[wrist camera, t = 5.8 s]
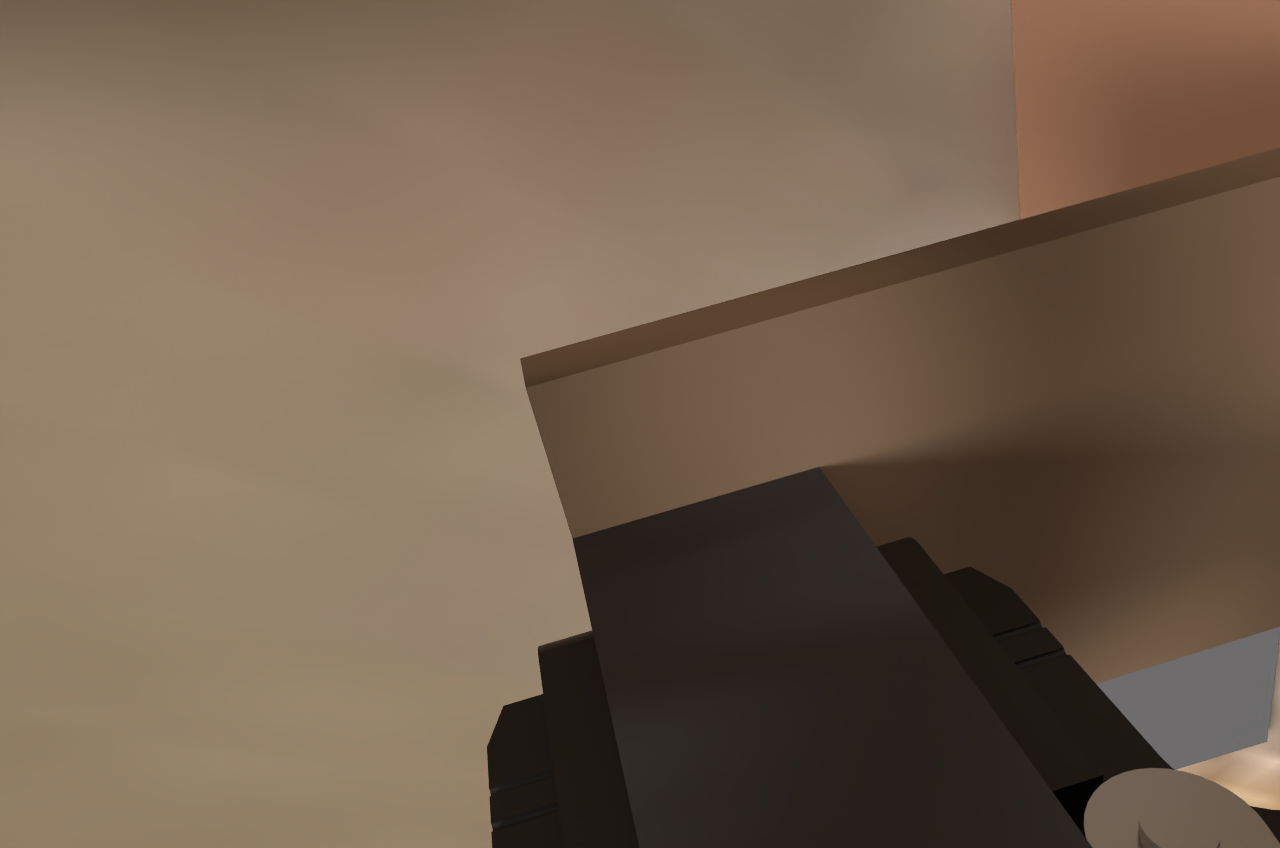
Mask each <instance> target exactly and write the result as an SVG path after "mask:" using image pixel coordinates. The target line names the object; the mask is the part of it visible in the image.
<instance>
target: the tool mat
mask: <svg viewBox="0 0 1280 848" xmlns="http://www.w3.org/2000/svg"><path fill="white" fill-rule="evenodd" d="M1279 636H1280V627H1277V628H1274V629H1271V630H1268V631H1265V632H1261V633H1258V634H1255V635H1252V636H1249V637H1245V638H1242V639H1239V640H1236V641H1232V642H1229V643H1226V644H1223V645H1220V646H1216V647H1213V648H1210V649H1207V650H1204V651H1200V652H1197V653H1194V654H1191V655H1188V656H1184V657H1181V658H1178V659H1175V660H1172V661H1168V662H1165V663H1162V664H1159V665H1156V666H1152V667H1149V668H1146V669H1143V670H1140V671H1136V672H1133V673H1130V674H1127V675H1124V676H1120V677H1117V678H1114V679H1111V680H1107V681H1104V682H1101V683H1098V684H1097V685H1098V686H1099V688H1100V689H1101V690H1102V691H1103V692H1104V693H1105V694H1106V695H1107V697H1108V698H1109V699H1110V700H1111V701H1112V702H1113V703H1114V704H1115V706H1116V707H1117V708H1118V709H1119V710H1120V711H1121V712H1122V714H1123V715H1124V716H1125V717H1126V718H1127V719H1128V720H1129V721H1130V723H1131V724H1132V725H1133V726H1134V727H1135V728H1136V729H1137V730H1138V732H1139V733H1140V734H1141V735H1142V736H1143V737H1144V738H1145V739H1146V741H1147V742H1148V743H1149V744H1150V745H1151V746H1152V747H1153V749H1154V750H1155V751H1156V752H1157V753H1158V754H1159V755H1160V756H1161V757H1162V758H1163V759H1164V760H1165V761H1166V762H1167V763H1168V764H1169V765H1170V766H1171V767H1172V768H1173V769H1174V770H1176V769H1179V768H1182V767H1186V766H1189V765H1192V764H1195V763H1199V762H1202V761H1205V760H1208V759H1212V758H1215V757H1218V756H1221V755H1225V754H1228V753H1231V752H1234V751H1238V750H1241V749H1244V748H1247V747H1251V746H1254V745H1257V744H1260V743H1264V742H1267V738H1268V729H1269V721H1270V712H1271V704H1272V695H1273V687H1274V678H1275V670H1276V661H1277V653H1278V645H1279Z"/></svg>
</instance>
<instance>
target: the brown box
mask: <svg viewBox="0 0 1280 848" xmlns="http://www.w3.org/2000/svg"><path fill="white" fill-rule="evenodd" d="M521 365H522V370H523V376H524V381H525V386H526V390H527V393H528V397H529V400H530V403H531V406H532V410H533V413H534V416H535V419H536V422H537V426H538V429H539V432H540V435H541V439H542V442H543V445H544V448H545V451H546V455H547V458H548V461H549V464H550V468H551V471H552V474H553V477H554V480H555V484H556V487H557V490H558V493H559V497H560V500H561V503H562V506H563V509H564V513H565V516H566V519H567V522H568V526H569V529H570V532H571V535H572V538H573V543H574V548H575V552H576V557H577V561H578V566H579V571H580V575H581V580H582V584H583V589H584V594H585V598H586V603H587V607H588V612H589V617H590V621H591V626H592V631H593V635H594V640H595V644H596V649H597V654H598V658H599V663H600V667H601V672H602V677H603V681H604V686H605V690H606V695H607V700H608V704H609V709H610V713H611V718H612V723H613V727H614V732H615V736H616V741H617V746H618V750H619V755H620V760H621V764H622V769H623V773H624V778H625V783H626V787H627V792H628V796H629V801H630V806H631V810H632V815H633V819H634V824H635V829H636V833H637V838H638V842H639V847H640V848H1092V846H1091V845H1090V843H1089V842H1088V841H1087V839H1086V838H1085V836H1084V835H1083V834H1082V832H1081V831H1080V829H1079V828H1078V827H1077V825H1076V824H1075V823H1074V821H1073V820H1072V818H1071V817H1070V816H1069V814H1068V813H1067V811H1066V810H1065V809H1064V807H1063V806H1062V804H1061V803H1060V802H1059V800H1058V799H1057V797H1056V796H1055V795H1054V793H1053V792H1052V791H1051V789H1050V788H1049V786H1048V785H1047V784H1046V782H1045V781H1044V779H1043V778H1042V777H1041V775H1040V774H1039V772H1038V771H1037V770H1036V768H1035V767H1034V765H1033V764H1032V763H1031V761H1030V760H1029V759H1028V757H1027V756H1026V754H1025V753H1024V752H1023V750H1022V749H1021V747H1020V746H1019V745H1018V743H1017V742H1016V740H1015V739H1014V738H1013V736H1012V735H1011V734H1010V732H1009V731H1008V729H1007V728H1006V727H1005V725H1004V724H1003V722H1002V721H1001V720H1000V718H999V717H998V715H997V714H996V713H995V711H994V710H993V708H992V707H991V706H990V704H989V703H988V702H987V700H986V699H985V697H984V696H983V695H982V693H981V692H980V690H979V689H978V688H977V686H976V685H975V683H974V682H973V681H972V679H971V678H970V676H969V675H968V674H967V672H966V671H965V670H964V668H963V667H962V665H961V664H960V663H959V661H958V660H957V658H956V657H955V656H954V654H953V653H952V651H951V650H950V649H949V647H948V646H947V645H946V643H945V642H944V640H943V639H942V638H941V636H940V635H939V633H938V632H937V631H936V629H935V628H934V626H933V625H932V624H931V622H930V621H929V619H928V618H927V617H926V615H925V614H924V613H923V611H922V610H921V608H920V607H919V606H918V604H917V603H916V601H915V600H914V599H913V597H912V596H911V594H910V593H909V592H908V590H907V589H906V587H905V586H904V585H903V583H902V582H901V581H900V579H899V578H898V576H897V575H896V574H895V572H894V571H893V569H892V568H891V567H890V565H889V564H888V562H887V561H886V560H885V558H884V557H883V556H882V554H881V553H880V551H879V550H878V549H877V546H880V545H884V544H887V543H890V542H894V541H897V540H900V539H904V538H907V537H911V538H914V539H915V540H916V541H917V542H918V543H919V544H920V545H921V547H922V548H923V549H924V550H925V552H926V553H927V554H928V555H929V557H930V558H931V559H932V560H933V562H934V563H935V564H936V565H937V567H938V568H939V569H940V570H941V572H942V573H943V574H947V573H950V572H953V571H957V570H960V569H963V568H967V567H970V566H971V567H972V568H974V569H976V570H978V571H980V572H982V573H984V574H985V575H987V576H989V577H991V578H993V579H995V580H997V581H999V582H1000V583H1002V584H1004V585H1006V586H1008V587H1010V588H1012V589H1013V590H1014V592H1015V593H1016V594H1017V595H1018V596H1019V597H1020V598H1021V600H1022V601H1023V602H1024V603H1025V604H1026V605H1027V606H1028V607H1029V609H1030V610H1031V611H1032V612H1033V613H1034V614H1035V615H1036V616H1037V618H1038V619H1039V620H1040V622H1041V625H1042V627H1043V628H1044V627H1046V628H1047V629H1048V630H1049V631H1050V632H1051V633H1052V635H1053V636H1054V637H1055V638H1056V639H1057V640H1058V641H1059V642H1060V644H1061V645H1062V646H1063V647H1064V650H1065V653H1066V654H1067V655H1069V654H1070V655H1071V656H1072V657H1073V658H1074V659H1075V660H1076V662H1077V663H1078V664H1079V665H1080V666H1081V667H1082V668H1083V670H1084V671H1085V672H1086V673H1087V674H1088V675H1089V676H1090V677H1091V679H1092V680H1093V681H1094V682H1095V683H1096V684H1098V683H1101V682H1104V681H1107V680H1111V679H1114V678H1117V677H1120V676H1124V675H1127V674H1130V673H1133V672H1136V671H1140V670H1143V669H1146V668H1149V667H1152V666H1156V665H1159V664H1162V663H1165V662H1168V661H1172V660H1175V659H1178V658H1181V657H1184V656H1188V655H1191V654H1194V653H1197V652H1200V651H1204V650H1207V649H1210V648H1213V647H1216V646H1220V645H1223V644H1226V643H1229V642H1232V641H1236V640H1239V639H1242V638H1245V637H1249V636H1252V635H1255V634H1258V633H1261V632H1265V631H1268V630H1271V629H1274V628H1277V627H1280V148H1276V149H1273V150H1269V151H1265V152H1262V153H1258V154H1255V155H1251V156H1247V157H1244V158H1240V159H1237V160H1233V161H1229V162H1226V163H1222V164H1219V165H1215V166H1211V167H1208V168H1204V169H1201V170H1197V171H1193V172H1190V173H1186V174H1183V175H1179V176H1175V177H1172V178H1168V179H1165V180H1161V181H1157V182H1154V183H1150V184H1147V185H1143V186H1139V187H1136V188H1132V189H1129V190H1125V191H1121V192H1118V193H1114V194H1111V195H1107V196H1103V197H1100V198H1096V199H1093V200H1089V201H1085V202H1082V203H1078V204H1075V205H1071V206H1067V207H1064V208H1060V209H1057V210H1053V211H1049V212H1046V213H1042V214H1039V215H1035V216H1031V217H1028V218H1024V219H1021V220H1017V221H1013V222H1010V223H1006V224H1003V225H999V226H996V227H992V228H988V229H985V230H981V231H978V232H974V233H970V234H967V235H963V236H960V237H956V238H952V239H949V240H945V241H942V242H938V243H934V244H931V245H927V246H924V247H920V248H916V249H913V250H909V251H906V252H902V253H898V254H895V255H891V256H888V257H884V258H880V259H877V260H873V261H870V262H866V263H862V264H859V265H855V266H852V267H848V268H844V269H841V270H837V271H834V272H830V273H826V274H823V275H819V276H816V277H812V278H808V279H805V280H801V281H798V282H794V283H790V284H787V285H783V286H780V287H776V288H772V289H769V290H765V291H762V292H758V293H754V294H751V295H747V296H744V297H740V298H736V299H733V300H729V301H726V302H722V303H718V304H715V305H711V306H708V307H704V308H700V309H697V310H693V311H690V312H686V313H682V314H679V315H675V316H672V317H668V318H665V319H661V320H657V321H654V322H650V323H647V324H643V325H639V326H636V327H632V328H629V329H625V330H621V331H618V332H614V333H611V334H607V335H603V336H600V337H596V338H593V339H589V340H585V341H582V342H578V343H575V344H571V345H567V346H564V347H560V348H557V349H553V350H549V351H546V352H542V353H539V354H535V355H531V356H528V357H524V358H521Z"/></svg>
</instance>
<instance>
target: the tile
mask: <svg viewBox="0 0 1280 848" xmlns="http://www.w3.org/2000/svg"><path fill="white" fill-rule="evenodd" d="M1011 7H1012V31H1013V55H1014V79H1015V104H1016V128H1017V152H1018V176H1019V200H1020V220H1021V219H1024V218H1028V217H1031V216H1035V215H1039V214H1042V213H1046V212H1049V211H1053V210H1057V209H1060V208H1064V207H1067V206H1071V205H1075V204H1078V203H1082V202H1085V201H1089V200H1093V199H1096V198H1100V197H1103V196H1107V195H1111V194H1114V193H1118V192H1121V191H1125V190H1129V189H1132V188H1136V187H1139V186H1143V185H1147V184H1150V183H1154V182H1157V181H1161V180H1165V179H1168V178H1172V177H1175V176H1179V175H1183V174H1186V173H1190V172H1193V171H1197V170H1201V169H1204V168H1208V167H1211V166H1215V165H1219V164H1222V163H1226V162H1229V161H1233V160H1237V159H1240V158H1244V157H1247V156H1251V155H1255V154H1258V153H1262V152H1265V151H1269V150H1273V149H1276V148H1280V0H1011Z"/></svg>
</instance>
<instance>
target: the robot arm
mask: <svg viewBox="0 0 1280 848" xmlns="http://www.w3.org/2000/svg"><path fill="white" fill-rule="evenodd" d="M877 549H878V550H879V551H880V553H881V554H882V556H883V557H884V558H885V560H886V561H887V562H888V564H889V565H890V567H891V568H892V569H893V571H894V572H895V574H896V575H897V576H898V578H899V579H900V581H901V582H902V583H903V585H904V586H905V587H906V589H907V590H908V592H909V593H910V594H911V596H912V597H913V599H914V600H915V601H916V603H917V604H918V606H919V607H920V608H921V610H922V611H923V613H924V614H925V615H926V617H927V618H928V619H929V621H930V622H931V624H932V625H933V626H934V628H935V629H936V631H937V632H938V633H939V635H940V636H941V638H942V639H943V640H944V642H945V643H946V645H947V646H948V647H949V649H950V650H951V651H952V653H953V654H954V656H955V657H956V658H957V660H958V661H959V663H960V664H961V665H962V667H963V668H964V670H965V671H966V672H967V674H968V675H969V676H970V678H971V679H972V681H973V682H974V683H975V685H976V686H977V688H978V689H979V690H980V692H981V693H982V695H983V696H984V697H985V699H986V700H987V702H988V703H989V704H990V706H991V707H992V708H993V710H994V711H995V713H996V714H997V715H998V717H999V718H1000V720H1001V721H1002V722H1003V724H1004V725H1005V727H1006V728H1007V729H1008V731H1009V732H1010V734H1011V735H1012V736H1013V738H1014V739H1015V740H1016V742H1017V743H1018V745H1019V746H1020V747H1021V749H1022V750H1023V752H1024V753H1025V754H1026V756H1027V757H1028V759H1029V760H1030V761H1031V763H1032V764H1033V765H1034V767H1035V768H1036V770H1037V771H1038V772H1039V774H1040V775H1041V777H1042V778H1043V779H1044V781H1045V782H1046V784H1047V785H1048V786H1049V788H1050V789H1051V791H1052V792H1053V793H1054V795H1055V796H1056V797H1057V799H1058V800H1059V802H1060V803H1061V804H1062V806H1063V807H1064V809H1065V810H1066V811H1067V813H1068V814H1069V816H1070V817H1071V818H1072V820H1073V821H1074V823H1075V824H1076V825H1077V827H1078V828H1079V829H1080V831H1081V832H1082V834H1083V835H1084V836H1085V838H1086V839H1087V841H1088V842H1089V843H1090V845H1091V846H1092V848H1280V810H1270V809H1264V808H1258V807H1252V806H1249V805H1248V804H1247V803H1246V802H1245V801H1244V800H1242V799H1241V798H1239V797H1238V796H1237V795H1235V794H1234V793H1232V792H1231V791H1230V790H1228V789H1226V788H1224V787H1222V786H1221V785H1219V784H1217V783H1215V782H1213V781H1210V780H1208V779H1205V778H1203V777H1201V776H1198V775H1194V774H1191V773H1187V772H1184V771H1178V770H1174V769H1173V768H1172V767H1171V766H1170V765H1169V764H1168V763H1167V762H1166V761H1165V760H1164V759H1163V758H1162V757H1161V756H1160V755H1159V754H1158V753H1157V752H1156V751H1155V750H1154V749H1153V747H1152V746H1151V745H1150V744H1149V743H1148V742H1147V741H1146V739H1145V738H1144V737H1143V736H1142V735H1141V734H1140V733H1139V732H1138V730H1137V729H1136V728H1135V727H1134V726H1133V725H1132V724H1131V723H1130V721H1129V720H1128V719H1127V718H1126V717H1125V716H1124V715H1123V714H1122V712H1121V711H1120V710H1119V709H1118V708H1117V707H1116V706H1115V704H1114V703H1113V702H1112V701H1111V700H1110V699H1109V698H1108V697H1107V695H1106V694H1105V693H1104V692H1103V691H1102V690H1101V689H1100V688H1099V686H1098V685H1097V684H1096V683H1095V682H1094V681H1093V680H1092V679H1091V677H1090V676H1089V675H1088V674H1087V673H1086V672H1085V671H1084V670H1083V668H1082V667H1081V666H1080V665H1079V664H1078V663H1077V662H1076V660H1075V659H1074V658H1073V657H1072V656H1071V655H1070V654H1069V655H1067V654H1066V653H1065V650H1064V647H1063V646H1062V645H1061V644H1060V642H1059V641H1058V640H1057V639H1056V638H1055V637H1054V636H1053V635H1052V633H1051V632H1050V631H1049V630H1048V629H1047V628H1046V627H1044V628H1043V627H1042V625H1041V622H1040V620H1039V619H1038V618H1037V616H1036V615H1035V614H1034V613H1033V612H1032V611H1031V610H1030V609H1029V607H1028V606H1027V605H1026V604H1025V603H1024V602H1023V601H1022V600H1021V598H1020V597H1019V596H1018V595H1017V594H1016V593H1015V592H1014V590H1013V589H1012V588H1010V587H1008V586H1006V585H1004V584H1002V583H1000V582H999V581H997V580H995V579H993V578H991V577H989V576H987V575H985V574H984V573H982V572H980V571H978V570H976V569H974V568H972V567H971V566H970V567H967V568H963V569H960V570H957V571H953V572H950V573H947V574H943V573H942V572H941V570H940V569H939V568H938V567H937V565H936V564H935V563H934V562H933V560H932V559H931V558H930V557H929V555H928V554H927V553H926V552H925V550H924V549H923V548H922V547H921V545H920V544H919V543H918V542H917V541H916V540H915V539H914V538H911V537H907V538H904V539H900V540H897V541H894V542H890V543H887V544H884V545H880V546H877ZM538 657H539V664H540V672H541V680H542V687H543V694H542V695H538V696H535V697H532V698H528V699H525V700H522V701H518V702H515V703H512V704H508V705H505V706H503V709H502V711H501V714H500V716H499V719H498V721H497V724H496V726H495V728H494V731H493V733H492V736H491V738H490V741H489V743H488V746H487V755H488V774H489V789H490V793H491V796H490V812H491V824H492V828H493V832H492V848H640V847H639V842H638V838H637V833H636V829H635V824H634V819H633V815H632V810H631V806H630V801H629V796H628V792H627V787H626V783H625V778H624V773H623V769H622V764H621V760H620V755H619V750H618V746H617V741H616V736H615V732H614V727H613V723H612V718H611V713H610V709H609V704H608V700H607V695H606V690H605V686H604V681H603V677H602V672H601V667H600V663H599V658H598V654H597V649H596V644H595V640H594V635H593V631H589V632H585V633H582V634H579V635H575V636H572V637H569V638H565V639H562V640H559V641H555V642H552V643H548V644H545V645H542V646H539V647H538Z"/></svg>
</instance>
